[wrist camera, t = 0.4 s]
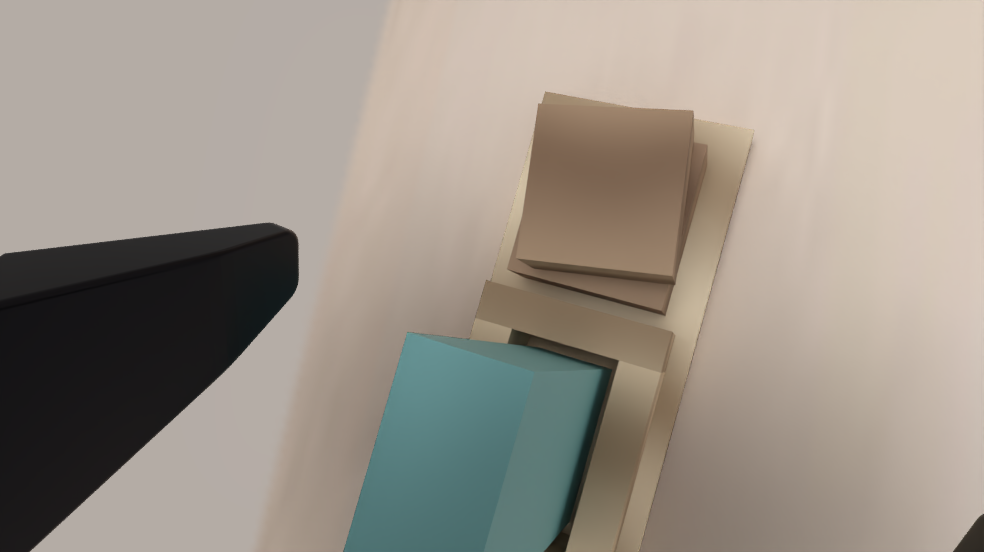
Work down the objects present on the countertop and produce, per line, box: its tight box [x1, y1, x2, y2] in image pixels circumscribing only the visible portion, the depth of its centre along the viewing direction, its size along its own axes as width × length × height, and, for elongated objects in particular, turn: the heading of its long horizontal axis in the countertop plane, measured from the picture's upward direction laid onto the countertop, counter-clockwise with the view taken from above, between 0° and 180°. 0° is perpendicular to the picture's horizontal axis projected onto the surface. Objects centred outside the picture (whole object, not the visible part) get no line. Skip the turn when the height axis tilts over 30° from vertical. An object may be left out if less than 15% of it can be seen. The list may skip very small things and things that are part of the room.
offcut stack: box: [507, 104, 708, 316], centre depth 21 cm, size 5×5×4 cm
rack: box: [469, 92, 754, 552], centre depth 23 cm, size 18×7×4 cm, turn 163°
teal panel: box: [343, 332, 612, 552], centre depth 18 cm, size 5×2×11 cm, turn 164°
